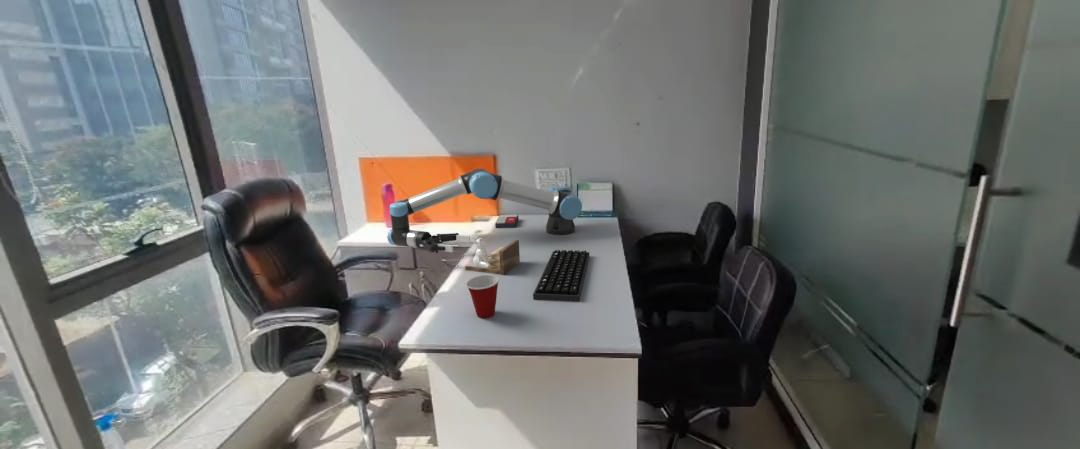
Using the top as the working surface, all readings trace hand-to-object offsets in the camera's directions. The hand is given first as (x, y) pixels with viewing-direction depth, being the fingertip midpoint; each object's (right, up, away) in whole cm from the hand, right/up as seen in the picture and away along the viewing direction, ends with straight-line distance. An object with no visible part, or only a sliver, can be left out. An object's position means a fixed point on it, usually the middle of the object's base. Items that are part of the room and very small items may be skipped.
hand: (461, 244), depth 193 cm
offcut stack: (+18, -10, -5) cm, 21 cm away
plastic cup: (+15, -21, -45) cm, 52 cm away
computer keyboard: (+43, -12, -15) cm, 47 cm away
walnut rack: (+13, -9, -3) cm, 16 cm away
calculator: (+15, +8, +59) cm, 62 cm away
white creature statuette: (+9, -9, -1) cm, 13 cm away
